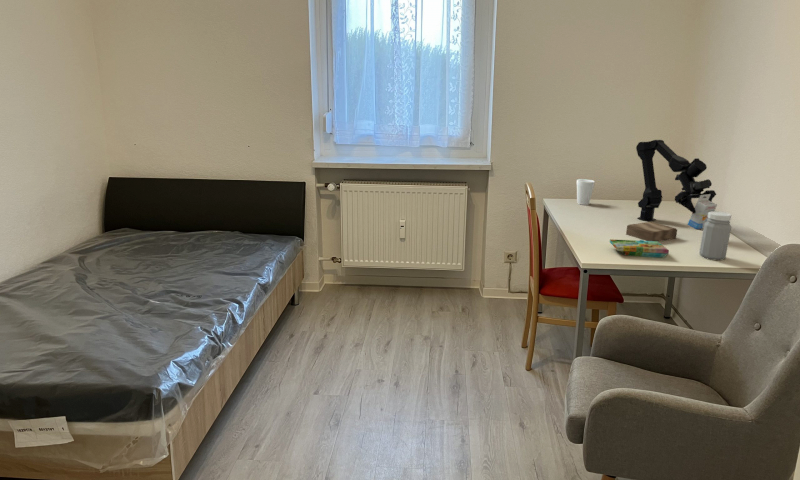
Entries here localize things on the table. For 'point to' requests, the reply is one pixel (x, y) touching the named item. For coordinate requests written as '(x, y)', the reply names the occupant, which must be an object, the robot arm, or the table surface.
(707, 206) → the ink box
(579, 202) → the foam cup
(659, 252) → the puzzle game
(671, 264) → the table surface
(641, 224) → the walnut box
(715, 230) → the jar
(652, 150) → the robot arm
